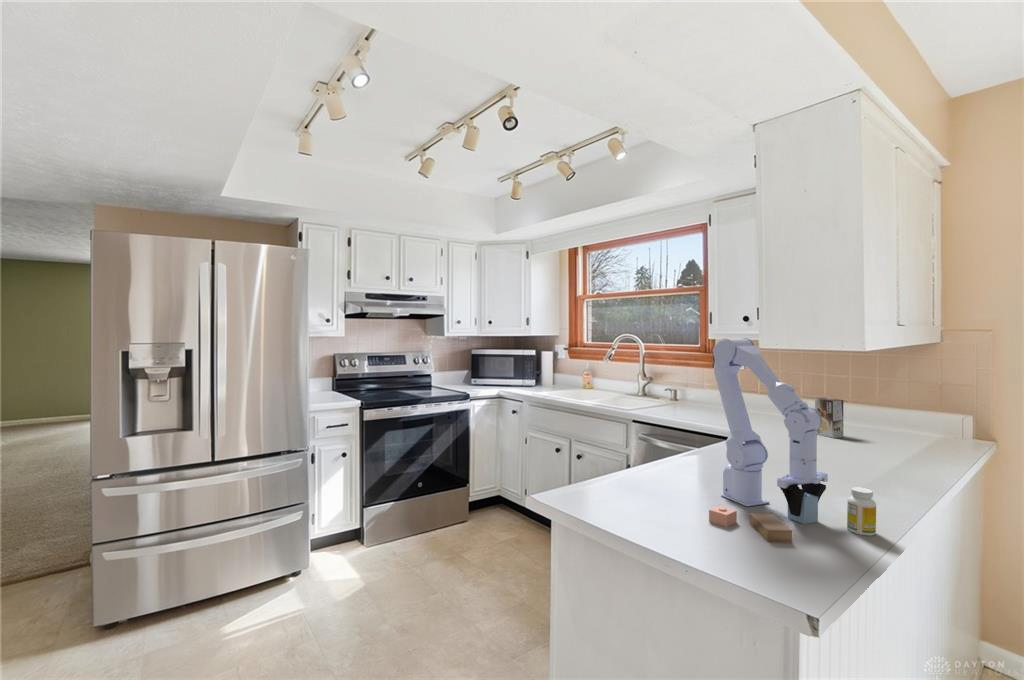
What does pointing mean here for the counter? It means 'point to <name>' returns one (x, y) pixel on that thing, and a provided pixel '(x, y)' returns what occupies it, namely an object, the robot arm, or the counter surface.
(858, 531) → the supplement bottle
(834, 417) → the coffee box
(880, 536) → the counter surface
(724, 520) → the brick
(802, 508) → the blue brick
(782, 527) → the base brick
